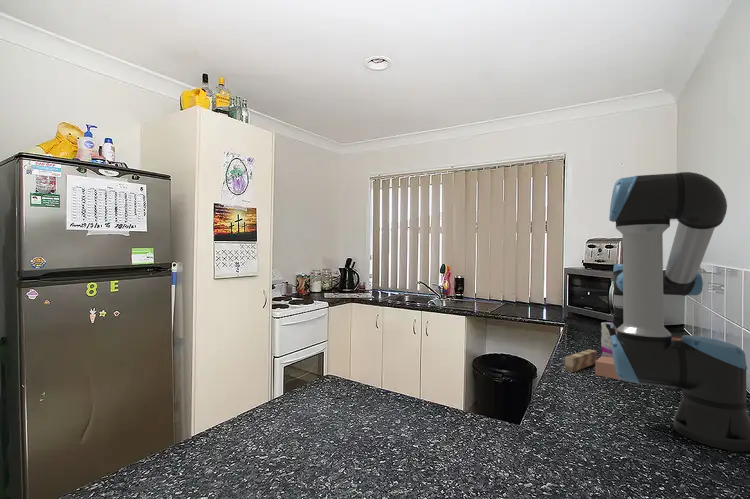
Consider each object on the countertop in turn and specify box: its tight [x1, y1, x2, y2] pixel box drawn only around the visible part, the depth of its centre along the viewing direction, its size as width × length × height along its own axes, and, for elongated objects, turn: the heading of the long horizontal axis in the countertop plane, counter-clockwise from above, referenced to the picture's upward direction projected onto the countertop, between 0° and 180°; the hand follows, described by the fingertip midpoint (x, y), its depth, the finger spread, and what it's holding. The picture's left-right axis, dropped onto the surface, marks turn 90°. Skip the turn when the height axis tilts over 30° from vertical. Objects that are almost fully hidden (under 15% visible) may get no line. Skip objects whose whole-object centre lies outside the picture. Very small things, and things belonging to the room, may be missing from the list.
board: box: [564, 349, 598, 373], centre depth 146 cm, size 19×3×5 cm, turn 126°
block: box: [594, 355, 622, 380], centre depth 138 cm, size 10×8×5 cm
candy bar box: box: [600, 321, 617, 358], centre depth 147 cm, size 11×5×16 cm, turn 25°
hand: (626, 373), depth 134 cm, fingers closed
